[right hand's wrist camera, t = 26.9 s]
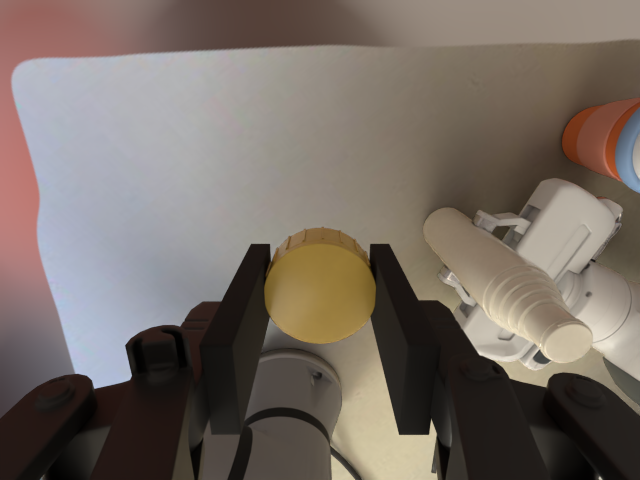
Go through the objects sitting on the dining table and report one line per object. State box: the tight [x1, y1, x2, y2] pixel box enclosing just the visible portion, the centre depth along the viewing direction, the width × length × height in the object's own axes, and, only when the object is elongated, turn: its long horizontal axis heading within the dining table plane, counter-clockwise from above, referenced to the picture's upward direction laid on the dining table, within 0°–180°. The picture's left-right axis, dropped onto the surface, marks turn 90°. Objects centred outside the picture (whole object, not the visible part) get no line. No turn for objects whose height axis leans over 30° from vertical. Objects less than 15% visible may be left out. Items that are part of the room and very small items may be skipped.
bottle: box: [423, 207, 593, 363], centre depth 32 cm, size 5×5×23 cm
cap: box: [264, 227, 376, 344], centre depth 14 cm, size 4×4×2 cm
